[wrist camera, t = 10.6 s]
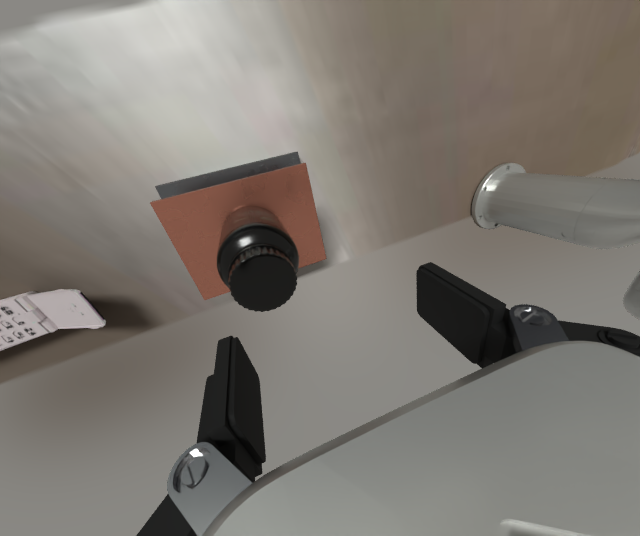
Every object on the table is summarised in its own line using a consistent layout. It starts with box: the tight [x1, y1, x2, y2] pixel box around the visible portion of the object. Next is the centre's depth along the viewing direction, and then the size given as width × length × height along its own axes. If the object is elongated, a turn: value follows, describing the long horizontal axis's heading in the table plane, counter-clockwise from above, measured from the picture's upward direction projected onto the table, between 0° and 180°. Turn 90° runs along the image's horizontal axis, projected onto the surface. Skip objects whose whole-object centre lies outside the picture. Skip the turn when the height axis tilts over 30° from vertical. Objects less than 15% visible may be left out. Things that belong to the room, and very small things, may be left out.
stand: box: [150, 152, 326, 300], centre depth 30 cm, size 18×14×8 cm
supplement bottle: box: [217, 206, 299, 312], centre depth 22 cm, size 7×7×12 cm
